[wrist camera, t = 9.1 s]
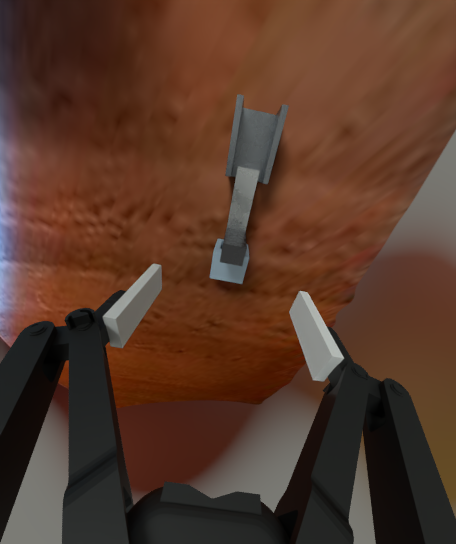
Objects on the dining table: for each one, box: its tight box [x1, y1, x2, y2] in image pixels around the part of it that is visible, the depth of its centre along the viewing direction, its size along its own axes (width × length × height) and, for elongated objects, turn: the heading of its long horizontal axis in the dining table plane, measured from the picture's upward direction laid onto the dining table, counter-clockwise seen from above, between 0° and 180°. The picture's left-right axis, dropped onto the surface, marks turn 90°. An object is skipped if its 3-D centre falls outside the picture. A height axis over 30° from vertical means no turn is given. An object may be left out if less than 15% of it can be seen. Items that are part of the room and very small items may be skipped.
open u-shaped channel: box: [225, 94, 289, 184], centre depth 26 cm, size 9×7×5 cm
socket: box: [210, 239, 249, 284], centre depth 35 cm, size 6×7×7 cm
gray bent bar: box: [220, 166, 260, 266], centre depth 28 cm, size 16×3×11 cm, turn 170°
